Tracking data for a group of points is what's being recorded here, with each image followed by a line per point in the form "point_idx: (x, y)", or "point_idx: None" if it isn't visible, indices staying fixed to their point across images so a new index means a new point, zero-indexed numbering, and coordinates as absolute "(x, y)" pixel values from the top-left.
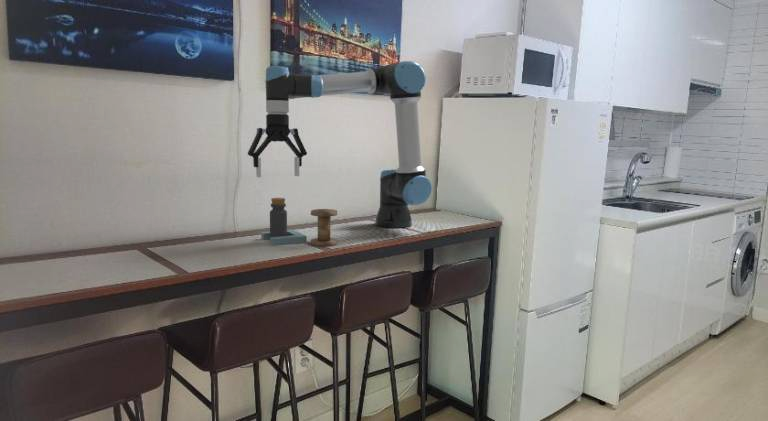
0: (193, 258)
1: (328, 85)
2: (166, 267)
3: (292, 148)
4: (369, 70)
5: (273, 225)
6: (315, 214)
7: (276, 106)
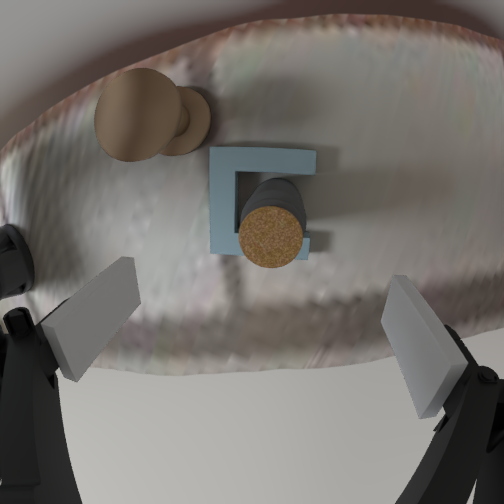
0: (490, 137)
1: None
2: None
3: (37, 411)
4: None
5: (299, 196)
6: (175, 88)
7: None
